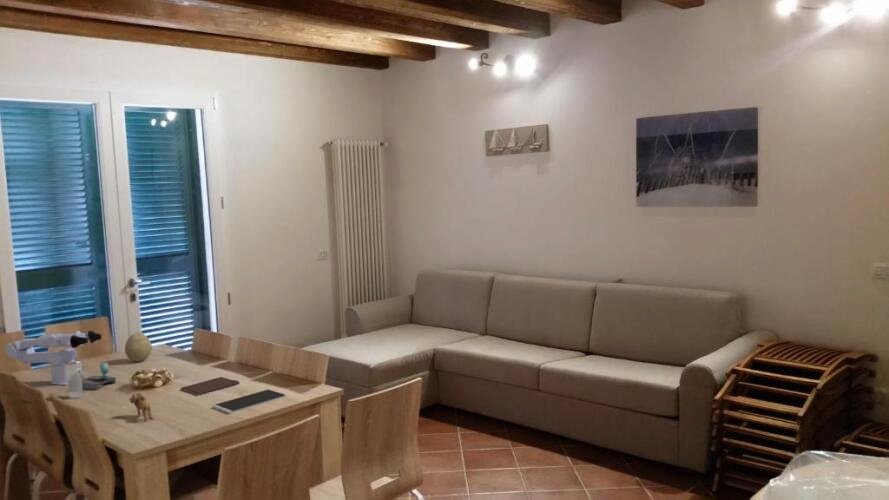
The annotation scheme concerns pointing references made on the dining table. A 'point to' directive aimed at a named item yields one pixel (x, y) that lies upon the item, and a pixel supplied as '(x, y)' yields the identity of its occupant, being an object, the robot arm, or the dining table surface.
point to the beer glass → (74, 379)
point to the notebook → (210, 386)
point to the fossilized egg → (138, 347)
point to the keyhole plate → (97, 382)
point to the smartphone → (249, 401)
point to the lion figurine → (141, 405)
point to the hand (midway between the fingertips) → (93, 338)
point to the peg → (104, 369)
